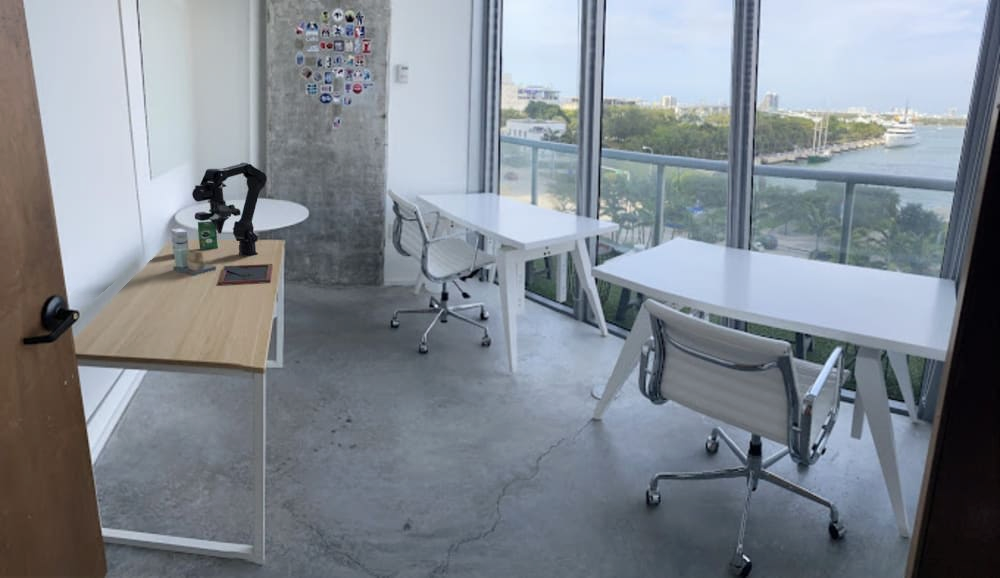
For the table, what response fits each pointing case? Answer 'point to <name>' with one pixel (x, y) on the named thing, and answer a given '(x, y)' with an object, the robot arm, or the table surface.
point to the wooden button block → (194, 260)
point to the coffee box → (207, 235)
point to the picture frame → (246, 274)
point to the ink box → (179, 239)
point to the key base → (195, 272)
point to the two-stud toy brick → (181, 257)
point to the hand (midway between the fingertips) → (219, 233)
